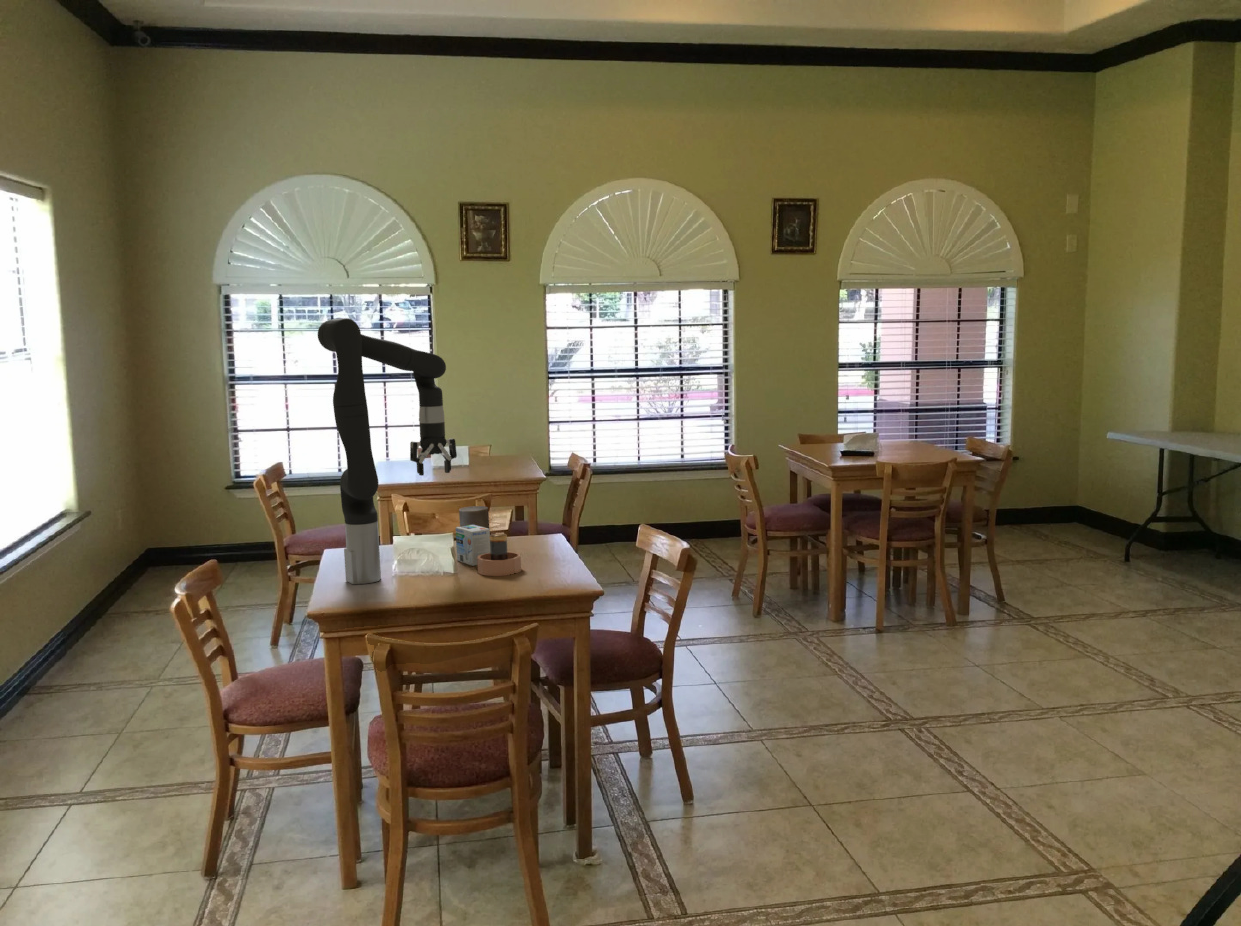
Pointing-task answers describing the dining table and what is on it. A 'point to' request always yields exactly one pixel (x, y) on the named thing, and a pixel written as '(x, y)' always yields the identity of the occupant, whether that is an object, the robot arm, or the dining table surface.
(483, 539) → the light bulb box
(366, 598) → the dining table surface
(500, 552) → the black cell
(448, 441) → the robot arm
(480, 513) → the pillar candle
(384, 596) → the dining table surface
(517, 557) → the pink round dish
